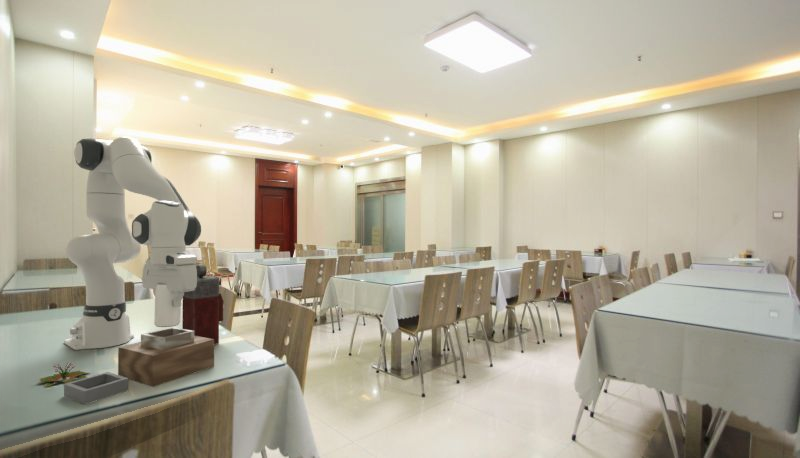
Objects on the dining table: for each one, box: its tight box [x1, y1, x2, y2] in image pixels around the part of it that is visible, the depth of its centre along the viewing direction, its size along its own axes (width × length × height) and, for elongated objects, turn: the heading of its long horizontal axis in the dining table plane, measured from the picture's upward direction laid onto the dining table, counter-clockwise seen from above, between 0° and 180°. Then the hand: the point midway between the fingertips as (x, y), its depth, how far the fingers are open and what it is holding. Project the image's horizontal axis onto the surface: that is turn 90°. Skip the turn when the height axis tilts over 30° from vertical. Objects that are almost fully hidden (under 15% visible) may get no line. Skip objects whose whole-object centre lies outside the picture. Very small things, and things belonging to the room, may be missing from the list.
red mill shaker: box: [181, 264, 224, 345], centre depth 146 cm, size 9×11×28 cm
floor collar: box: [63, 371, 130, 405], centre depth 101 cm, size 10×10×3 cm
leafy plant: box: [37, 362, 89, 388], centre depth 110 cm, size 12×12×5 cm
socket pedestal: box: [117, 326, 215, 388], centre depth 116 cm, size 16×18×11 cm
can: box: [153, 283, 182, 328], centre depth 117 cm, size 6×6×12 cm
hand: (168, 305), depth 117 cm, fingers closed on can, 6 cm apart
